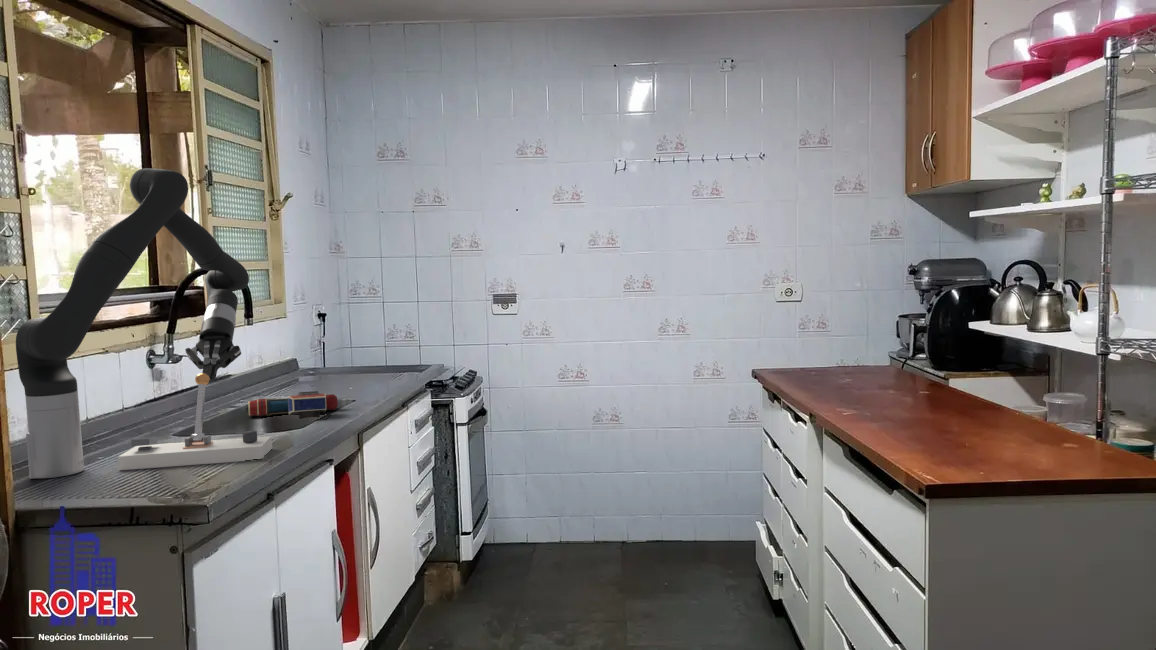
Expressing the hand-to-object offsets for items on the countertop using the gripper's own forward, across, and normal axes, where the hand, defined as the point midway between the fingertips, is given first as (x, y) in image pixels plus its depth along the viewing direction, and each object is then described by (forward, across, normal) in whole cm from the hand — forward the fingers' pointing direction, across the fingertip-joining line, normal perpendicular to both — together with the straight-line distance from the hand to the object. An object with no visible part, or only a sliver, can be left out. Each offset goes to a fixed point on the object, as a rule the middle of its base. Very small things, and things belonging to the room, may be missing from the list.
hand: (208, 380), depth 185 cm
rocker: (+16, -11, 0) cm, 20 cm away
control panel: (+20, 0, +3) cm, 20 cm away
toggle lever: (+16, 0, 0) cm, 17 cm away
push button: (+18, +11, +1) cm, 21 cm away
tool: (-15, +12, +38) cm, 43 cm away
